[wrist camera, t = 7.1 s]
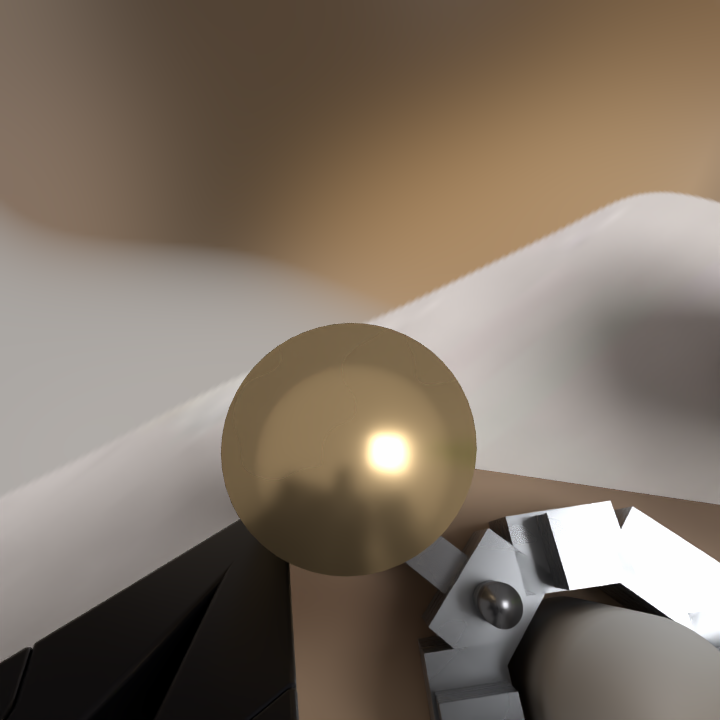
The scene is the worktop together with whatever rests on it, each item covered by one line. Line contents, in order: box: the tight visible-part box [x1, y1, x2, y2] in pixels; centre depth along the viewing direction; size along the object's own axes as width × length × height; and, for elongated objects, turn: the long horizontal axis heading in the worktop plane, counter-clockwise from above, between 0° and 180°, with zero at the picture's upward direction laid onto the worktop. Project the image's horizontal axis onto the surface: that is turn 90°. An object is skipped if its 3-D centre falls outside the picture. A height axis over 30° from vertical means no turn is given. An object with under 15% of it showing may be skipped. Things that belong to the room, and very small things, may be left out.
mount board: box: [290, 469, 720, 720], centre depth 11 cm, size 11×14×5 cm
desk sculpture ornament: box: [221, 323, 720, 720], centre depth 9 cm, size 9×14×10 cm, turn 53°
